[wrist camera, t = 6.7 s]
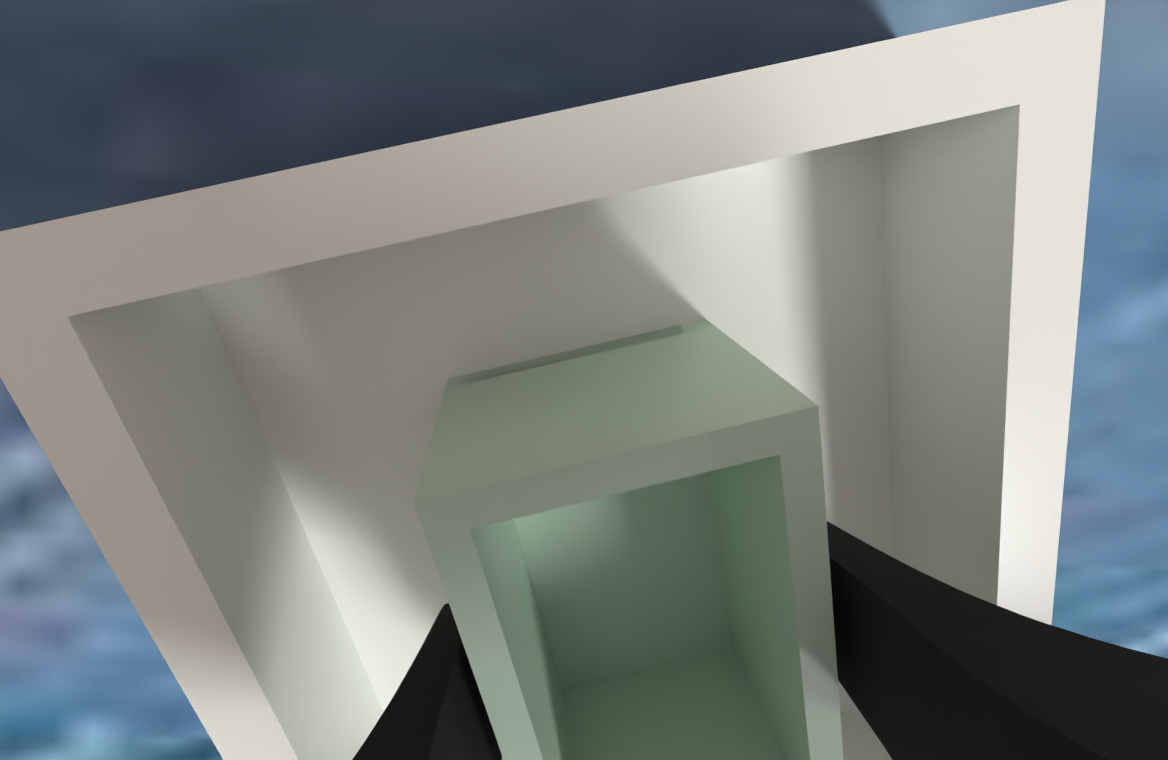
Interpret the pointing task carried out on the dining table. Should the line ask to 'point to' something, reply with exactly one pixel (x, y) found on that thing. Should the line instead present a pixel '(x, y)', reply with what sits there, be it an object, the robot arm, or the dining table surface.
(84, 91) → the dining table surface
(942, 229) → the white crate
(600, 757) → the green crate
